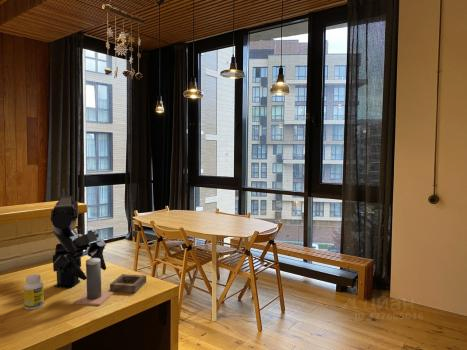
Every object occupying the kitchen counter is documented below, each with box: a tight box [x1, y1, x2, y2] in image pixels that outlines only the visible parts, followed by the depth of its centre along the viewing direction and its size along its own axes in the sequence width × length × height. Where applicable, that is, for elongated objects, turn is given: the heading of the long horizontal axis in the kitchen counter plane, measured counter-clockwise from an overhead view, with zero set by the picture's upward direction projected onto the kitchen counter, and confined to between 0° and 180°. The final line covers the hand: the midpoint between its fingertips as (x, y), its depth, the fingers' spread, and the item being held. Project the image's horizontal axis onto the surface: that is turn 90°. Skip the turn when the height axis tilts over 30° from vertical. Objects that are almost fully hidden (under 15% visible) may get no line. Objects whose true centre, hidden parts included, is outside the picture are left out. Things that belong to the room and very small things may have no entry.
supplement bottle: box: [23, 273, 45, 310], centre depth 110 cm, size 5×5×10 cm
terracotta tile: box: [73, 290, 115, 307], centre depth 116 cm, size 9×9×1 cm
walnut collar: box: [109, 273, 147, 294], centre depth 126 cm, size 10×10×2 cm
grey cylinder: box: [85, 257, 102, 300], centre depth 116 cm, size 4×4×13 cm
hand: (95, 274), depth 115 cm, fingers open, 9 cm apart
